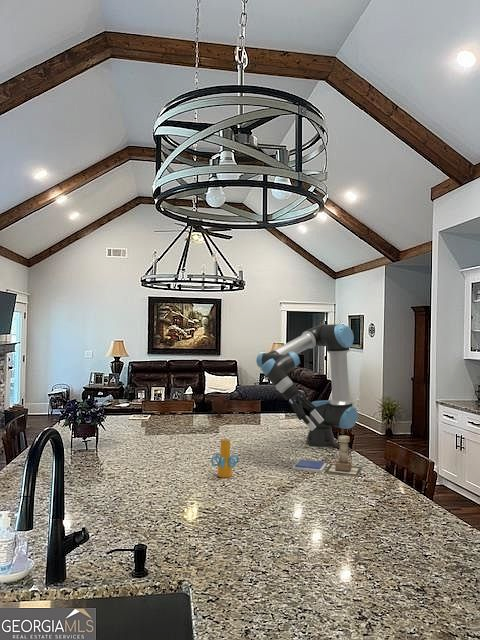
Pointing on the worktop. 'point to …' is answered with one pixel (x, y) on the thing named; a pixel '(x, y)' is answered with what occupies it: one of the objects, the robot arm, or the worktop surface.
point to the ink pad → (310, 466)
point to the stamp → (343, 455)
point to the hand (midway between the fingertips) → (318, 425)
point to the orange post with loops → (225, 460)
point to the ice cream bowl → (219, 405)
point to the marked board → (353, 472)
